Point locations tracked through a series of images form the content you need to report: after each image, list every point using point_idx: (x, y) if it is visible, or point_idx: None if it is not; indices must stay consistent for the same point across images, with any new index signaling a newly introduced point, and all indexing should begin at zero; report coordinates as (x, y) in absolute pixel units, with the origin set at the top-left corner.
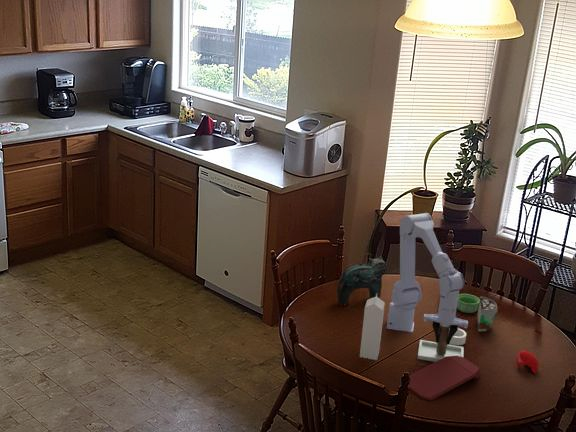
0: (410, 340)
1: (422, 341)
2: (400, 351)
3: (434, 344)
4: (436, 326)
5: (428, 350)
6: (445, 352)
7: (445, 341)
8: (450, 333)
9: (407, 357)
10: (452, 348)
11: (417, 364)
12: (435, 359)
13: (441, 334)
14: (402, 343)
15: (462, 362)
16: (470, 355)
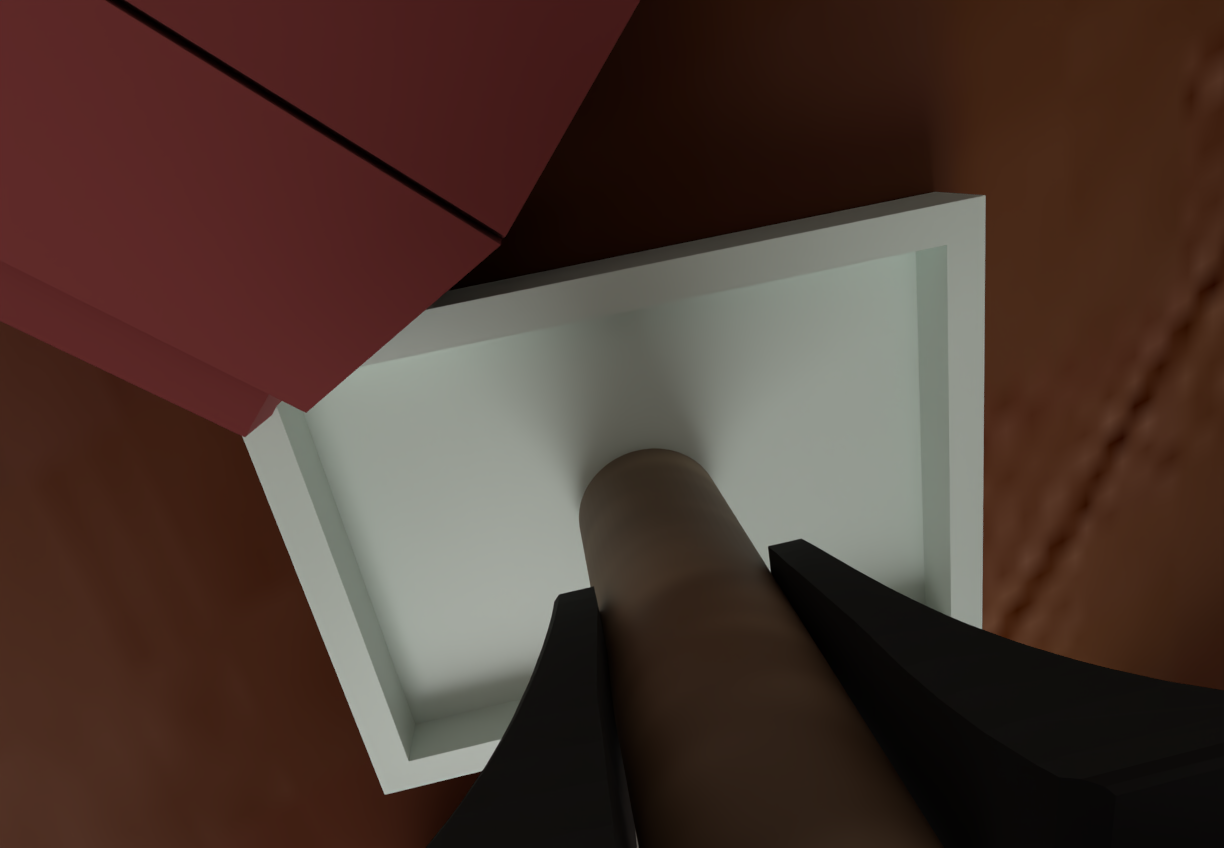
0: (1051, 627)
1: None
2: (1171, 300)
3: None
4: (1213, 811)
5: (822, 500)
6: (583, 518)
7: (640, 610)
8: (571, 793)
9: (1074, 185)
10: None
11: (917, 46)
12: (685, 253)
13: (806, 688)
14: (1144, 511)
15: (101, 164)
16: (274, 710)
